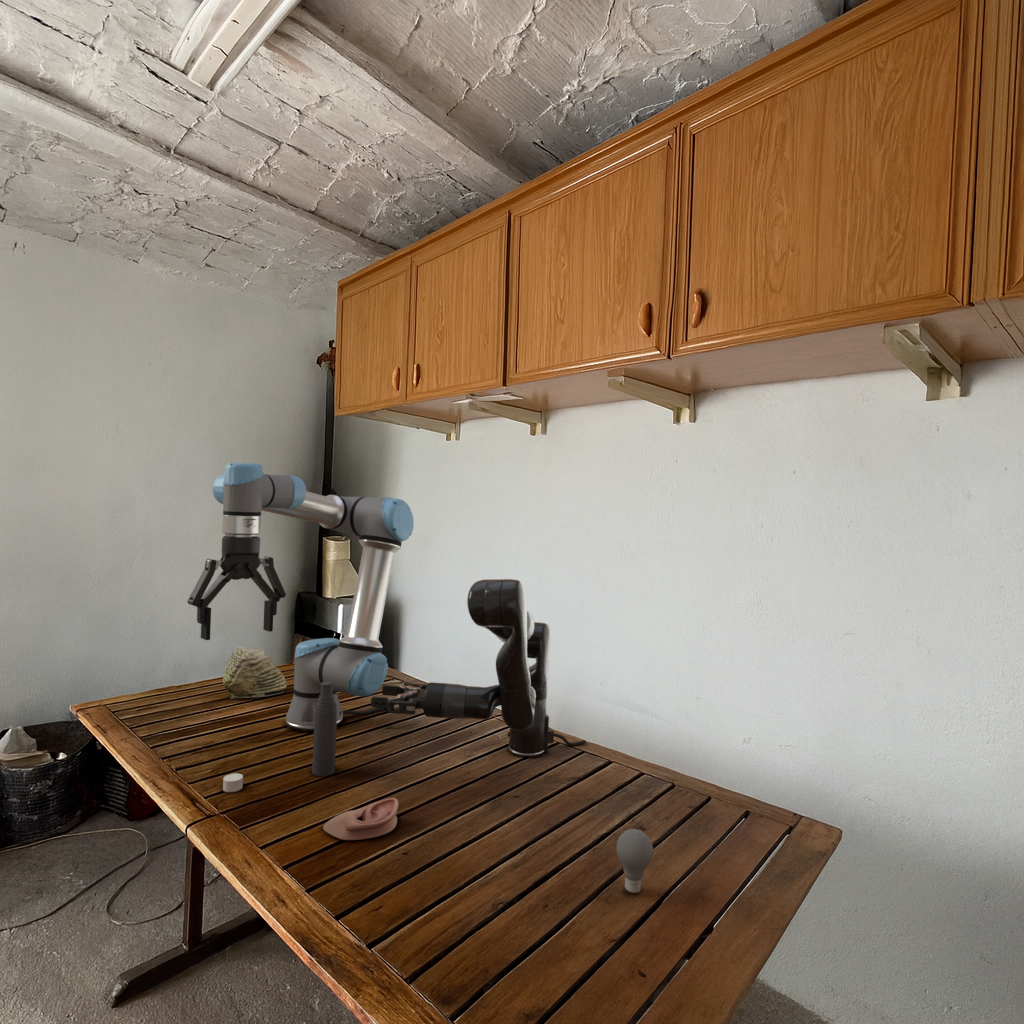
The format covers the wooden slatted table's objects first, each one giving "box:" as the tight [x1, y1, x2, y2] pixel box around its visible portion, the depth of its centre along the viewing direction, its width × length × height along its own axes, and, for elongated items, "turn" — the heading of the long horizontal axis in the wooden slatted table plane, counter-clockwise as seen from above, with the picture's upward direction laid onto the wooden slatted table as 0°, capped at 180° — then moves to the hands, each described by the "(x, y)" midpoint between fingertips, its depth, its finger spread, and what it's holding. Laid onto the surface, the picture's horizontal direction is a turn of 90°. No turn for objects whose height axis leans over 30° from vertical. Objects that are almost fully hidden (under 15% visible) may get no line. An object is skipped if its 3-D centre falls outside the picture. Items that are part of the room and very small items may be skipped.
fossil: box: [222, 646, 288, 699], centre depth 198 cm, size 9×18×15 cm, turn 132°
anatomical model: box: [322, 797, 399, 841], centre depth 122 cm, size 13×4×12 cm
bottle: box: [311, 681, 338, 777], centre depth 146 cm, size 5×5×21 cm
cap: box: [222, 773, 244, 793], centre depth 136 cm, size 4×4×2 cm
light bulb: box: [615, 828, 654, 894], centre depth 106 cm, size 6×6×10 cm
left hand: (237, 634), depth 135 cm, fingers open, 13 cm apart
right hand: (377, 695), depth 145 cm, fingers open, 8 cm apart
